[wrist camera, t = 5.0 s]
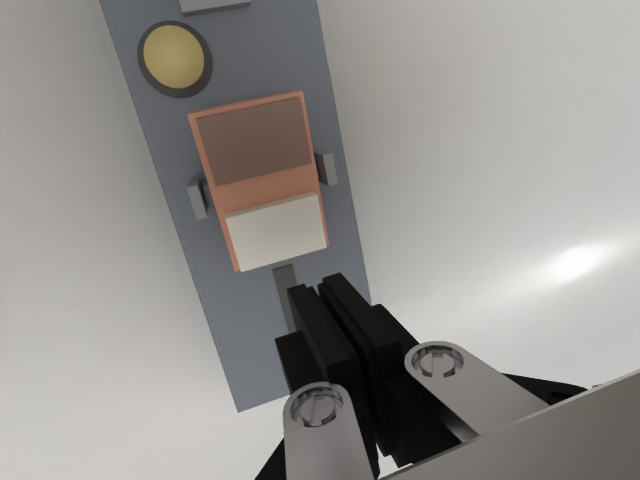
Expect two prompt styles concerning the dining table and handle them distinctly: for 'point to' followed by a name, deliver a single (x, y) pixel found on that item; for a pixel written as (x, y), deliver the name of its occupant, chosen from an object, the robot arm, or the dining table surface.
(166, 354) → the dining table surface
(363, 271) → the console
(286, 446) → the robot arm
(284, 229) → the rocker
